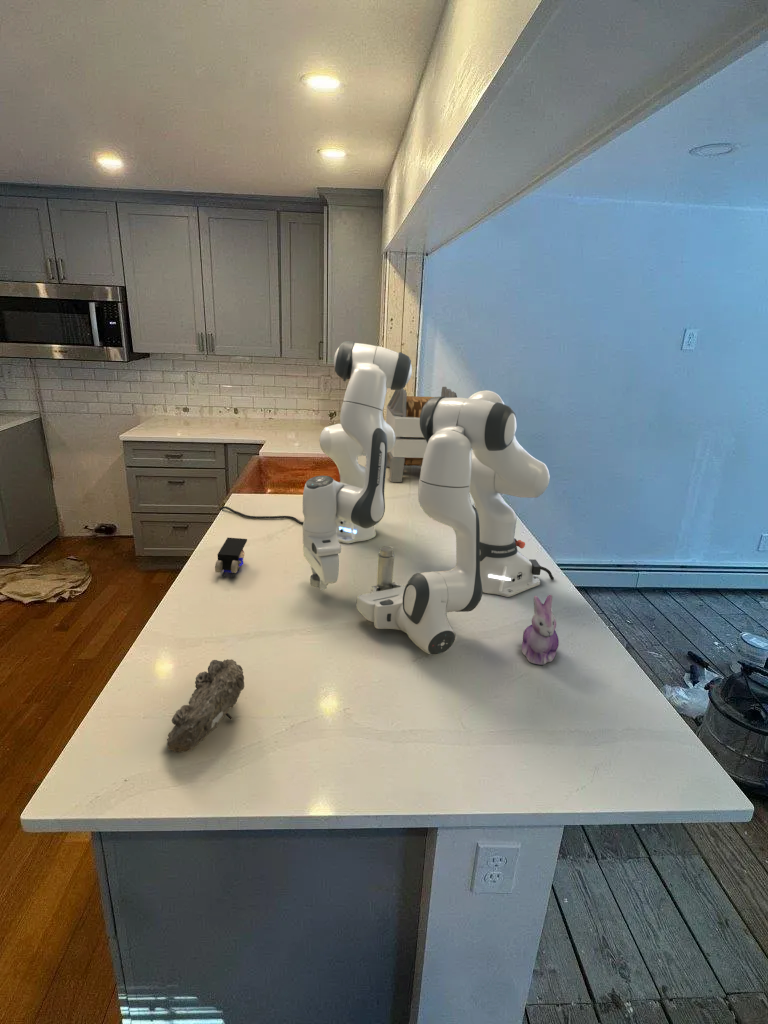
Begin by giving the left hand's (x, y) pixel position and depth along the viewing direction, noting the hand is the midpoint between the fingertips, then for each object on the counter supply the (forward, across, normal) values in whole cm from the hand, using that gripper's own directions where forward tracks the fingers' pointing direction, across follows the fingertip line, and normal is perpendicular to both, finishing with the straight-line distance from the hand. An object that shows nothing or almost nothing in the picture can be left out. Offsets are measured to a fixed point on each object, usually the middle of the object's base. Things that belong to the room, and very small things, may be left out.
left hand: (319, 584), depth 155 cm
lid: (-2, 0, 0) cm, 2 cm away
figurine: (+3, +45, +39) cm, 60 cm away
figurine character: (+3, -23, -20) cm, 30 cm away
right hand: (-2, +11, +14) cm, 18 cm away
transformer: (+2, -101, +83) cm, 131 cm away
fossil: (+3, +40, -34) cm, 53 cm away
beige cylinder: (+3, +12, +14) cm, 19 cm away
